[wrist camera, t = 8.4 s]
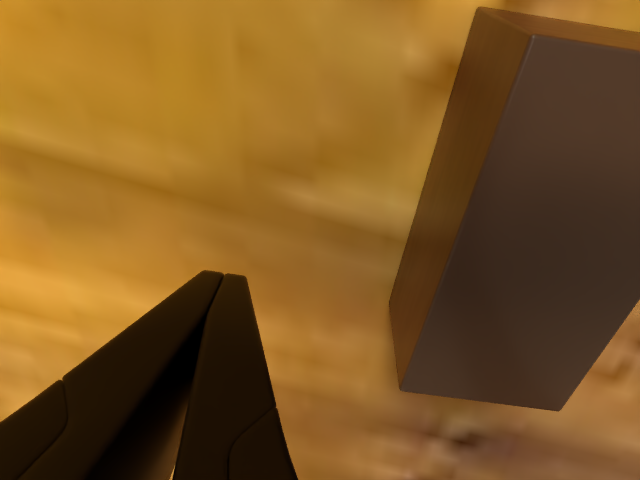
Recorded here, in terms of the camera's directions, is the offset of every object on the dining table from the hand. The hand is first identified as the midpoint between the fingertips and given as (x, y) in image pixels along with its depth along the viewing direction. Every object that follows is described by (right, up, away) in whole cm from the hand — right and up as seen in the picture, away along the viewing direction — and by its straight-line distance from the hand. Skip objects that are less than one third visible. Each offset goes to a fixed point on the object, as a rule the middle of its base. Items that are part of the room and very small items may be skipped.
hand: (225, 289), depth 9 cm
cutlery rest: (+8, +2, +5) cm, 10 cm away
